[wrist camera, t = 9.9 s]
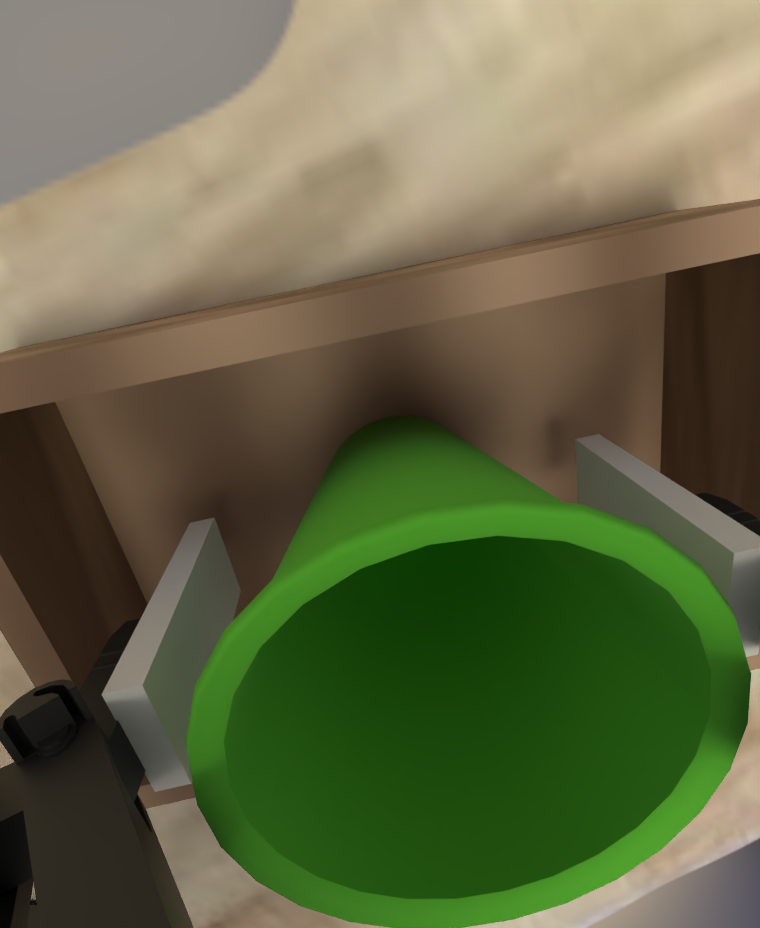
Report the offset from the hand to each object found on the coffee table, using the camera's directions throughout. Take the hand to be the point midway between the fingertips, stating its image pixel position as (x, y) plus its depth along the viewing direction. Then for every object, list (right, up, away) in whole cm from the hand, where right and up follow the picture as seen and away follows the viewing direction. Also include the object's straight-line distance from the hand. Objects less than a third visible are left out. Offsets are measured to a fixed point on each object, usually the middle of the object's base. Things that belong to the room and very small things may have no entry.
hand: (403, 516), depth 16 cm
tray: (0, +1, +3) cm, 4 cm away
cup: (0, +1, +2) cm, 3 cm away
